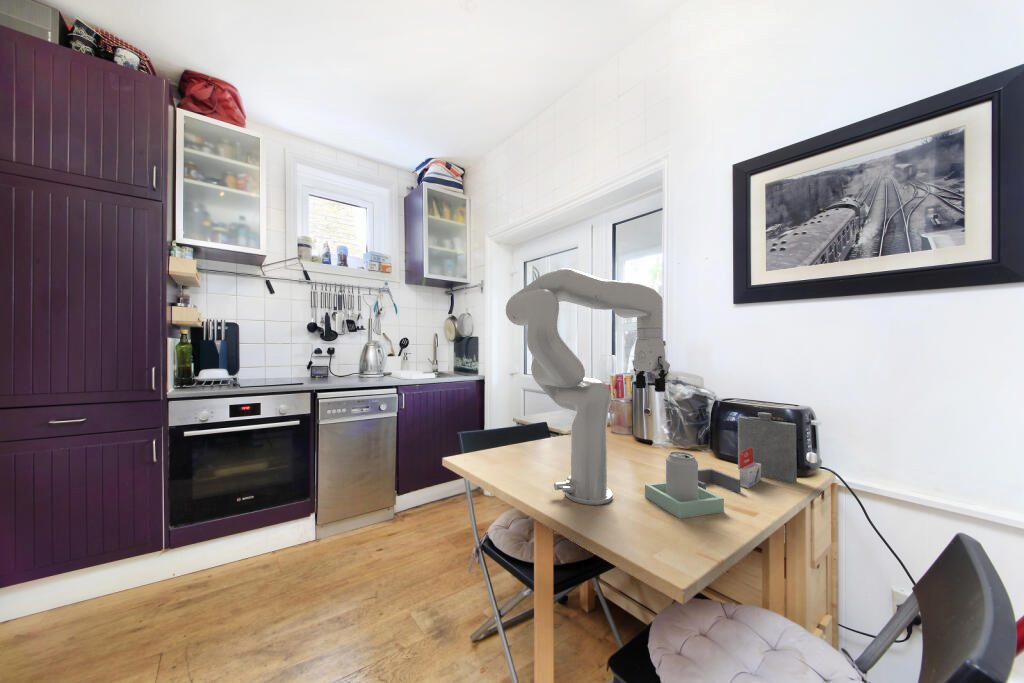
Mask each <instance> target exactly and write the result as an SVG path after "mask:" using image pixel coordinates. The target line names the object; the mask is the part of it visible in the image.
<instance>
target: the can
mask: <svg viewBox="0 0 1024 683" xmlns="http://www.w3.org/2000/svg"><path fill="white" fill-rule="evenodd" d="M698 470H699V462H698V461H697V460H696V455H694V454H693V453H691V452H685V451H679V450H678V451H677V450H673V451H670V452H668V456H667V457H666V458H665V482H666V494H667V495H669V496H671V497H672V498H674V499H676V500H678V501H679V502H685V501H692V500H698Z"/></svg>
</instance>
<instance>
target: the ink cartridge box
mask: <svg viewBox="0 0 1024 683" xmlns="http://www.w3.org/2000/svg"><path fill="white" fill-rule="evenodd" d="M746 452H747V453H748V456H746V457H744V455H745V453H746ZM739 463H740V470H739V479H740V480H741V487H742V488H746V489H749V488H751V487H752V486H755V484H757V483H758V482H759V483H760V481H761V480H762V476H761V464H759V463H754V462H753V450H752V447H751V448H749V449H747V450H744V451H742V452H740V453H739Z"/></svg>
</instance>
